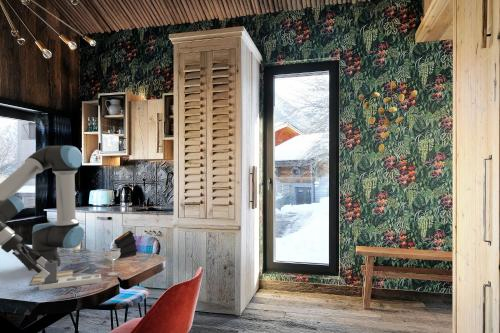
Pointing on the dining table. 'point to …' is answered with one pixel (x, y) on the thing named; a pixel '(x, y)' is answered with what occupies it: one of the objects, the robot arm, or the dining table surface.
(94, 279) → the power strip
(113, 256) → the wineglass
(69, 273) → the oak board
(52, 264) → the gray knobbed block
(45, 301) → the dining table surface
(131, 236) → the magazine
